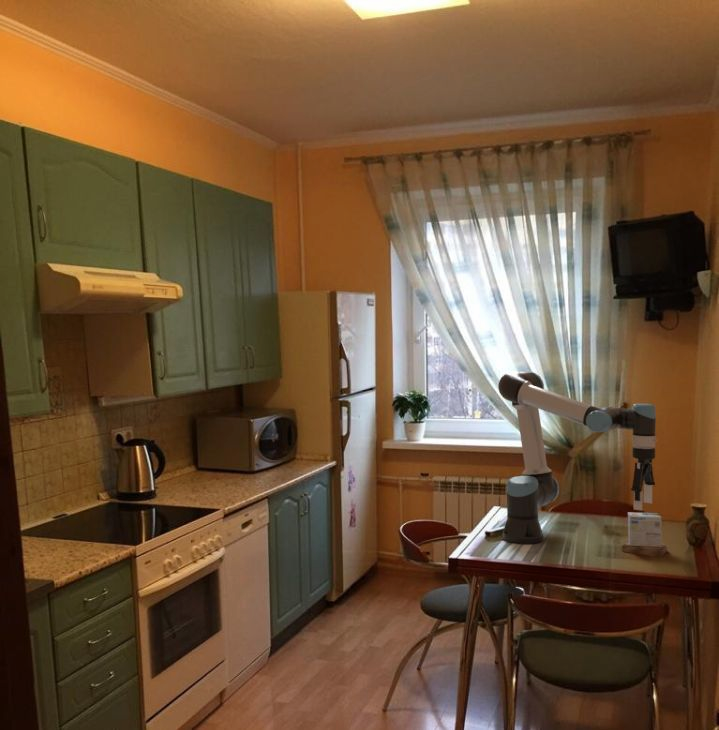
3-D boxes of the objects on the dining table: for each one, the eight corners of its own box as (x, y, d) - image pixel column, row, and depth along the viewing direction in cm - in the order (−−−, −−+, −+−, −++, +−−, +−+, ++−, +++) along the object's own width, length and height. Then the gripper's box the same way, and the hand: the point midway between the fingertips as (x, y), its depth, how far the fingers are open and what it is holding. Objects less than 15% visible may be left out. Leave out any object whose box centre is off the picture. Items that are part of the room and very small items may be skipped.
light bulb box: (659, 542, 238) (658, 512, 238) (662, 547, 232) (662, 517, 232) (627, 540, 241) (627, 511, 241) (630, 545, 235) (629, 515, 234)
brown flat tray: (622, 551, 237) (622, 544, 237) (629, 545, 244) (629, 538, 244) (661, 557, 229) (661, 550, 229) (667, 551, 236) (667, 544, 236)
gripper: (645, 452, 224) (644, 514, 225) (663, 444, 244) (662, 501, 244) (622, 450, 229) (622, 511, 229) (642, 442, 248) (641, 498, 249)
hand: (643, 506), depth 237 cm, fingers open, 13 cm apart
